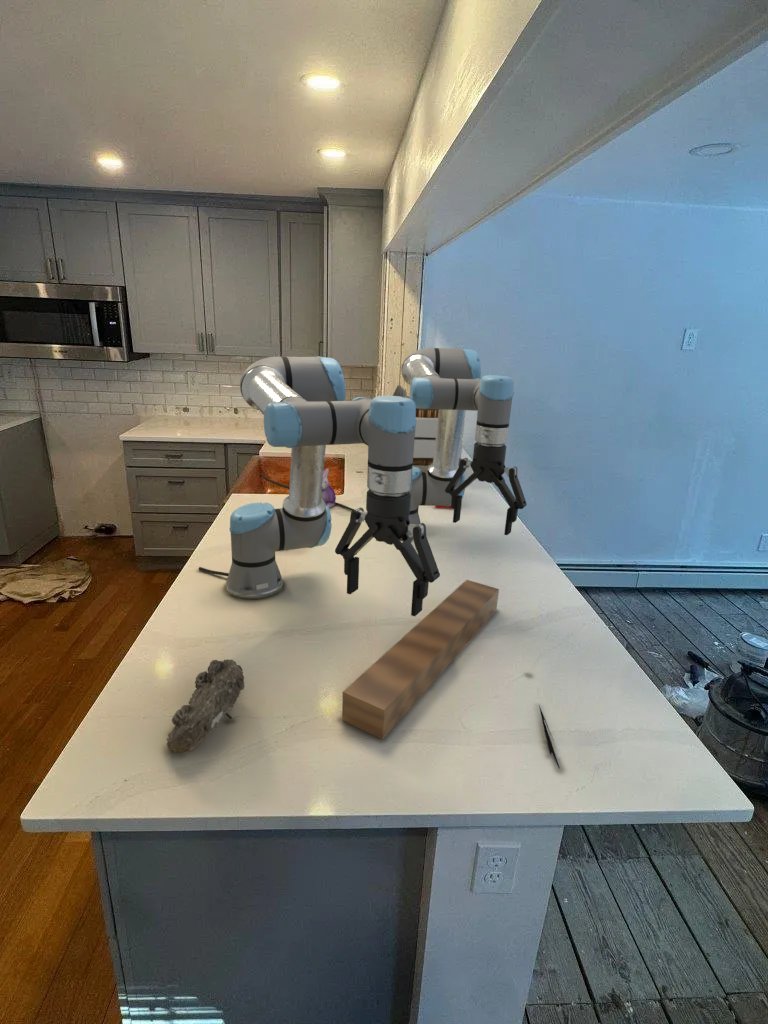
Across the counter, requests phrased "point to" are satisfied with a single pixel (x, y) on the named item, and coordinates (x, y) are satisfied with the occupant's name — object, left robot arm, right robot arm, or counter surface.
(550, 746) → the feather
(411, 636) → the wooden beam
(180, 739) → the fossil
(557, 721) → the counter surface
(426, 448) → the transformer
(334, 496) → the figurine
